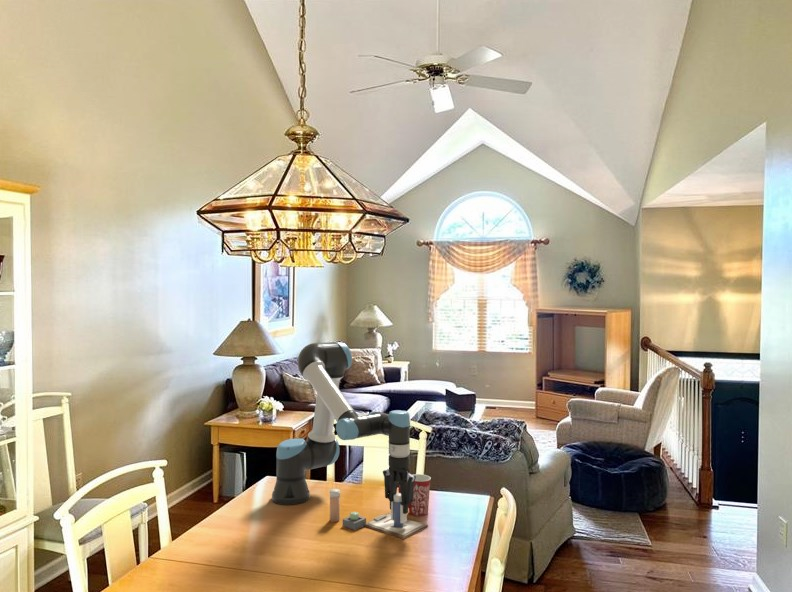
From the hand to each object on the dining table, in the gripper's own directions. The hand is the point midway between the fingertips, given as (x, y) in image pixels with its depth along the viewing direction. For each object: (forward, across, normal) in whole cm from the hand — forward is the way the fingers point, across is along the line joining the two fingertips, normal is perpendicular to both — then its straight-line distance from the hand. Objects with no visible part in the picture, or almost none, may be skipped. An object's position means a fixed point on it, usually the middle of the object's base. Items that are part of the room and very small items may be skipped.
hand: (398, 520), depth 210 cm
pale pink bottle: (+3, -23, -9) cm, 25 cm away
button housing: (+3, -14, -8) cm, 17 cm away
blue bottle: (+2, 0, 0) cm, 2 cm away
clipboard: (+3, -2, +1) cm, 4 cm away
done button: (+1, -14, -8) cm, 16 cm away
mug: (+3, -5, +16) cm, 17 cm away
